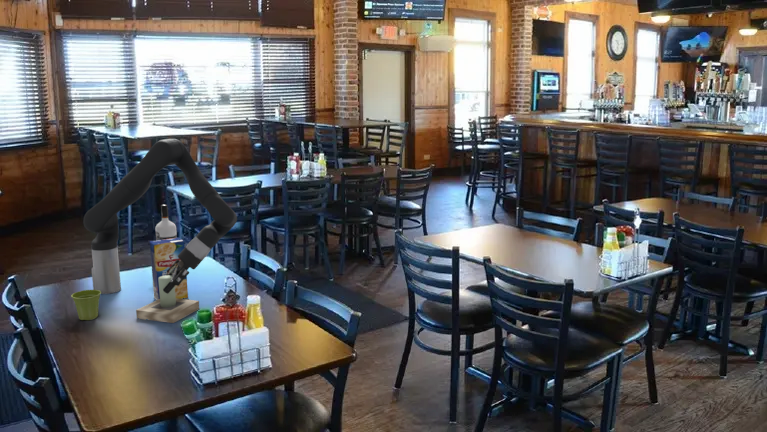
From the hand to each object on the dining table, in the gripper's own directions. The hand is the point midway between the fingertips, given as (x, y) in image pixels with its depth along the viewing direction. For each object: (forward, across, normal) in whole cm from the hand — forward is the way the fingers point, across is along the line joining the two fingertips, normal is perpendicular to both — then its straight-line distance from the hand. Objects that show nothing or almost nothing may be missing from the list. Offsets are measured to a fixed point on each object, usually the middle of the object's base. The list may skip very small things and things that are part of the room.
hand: (163, 288), depth 233 cm
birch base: (+6, 0, +7) cm, 9 cm away
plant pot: (+24, -8, -10) cm, 27 cm away
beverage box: (+3, -18, +10) cm, 21 cm away
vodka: (0, -50, +13) cm, 52 cm away
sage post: (+3, 0, +5) cm, 6 cm away
